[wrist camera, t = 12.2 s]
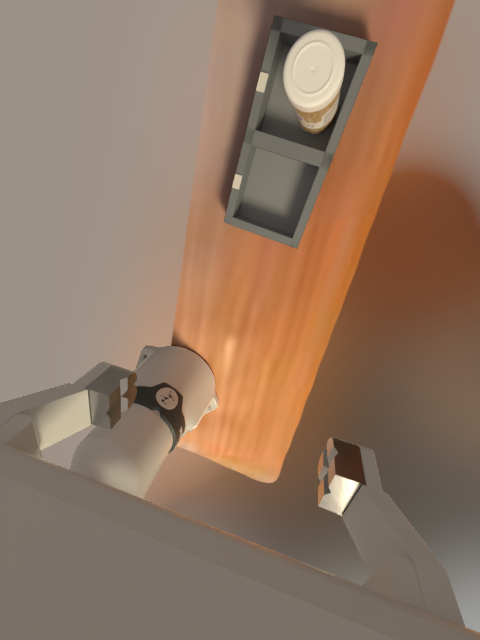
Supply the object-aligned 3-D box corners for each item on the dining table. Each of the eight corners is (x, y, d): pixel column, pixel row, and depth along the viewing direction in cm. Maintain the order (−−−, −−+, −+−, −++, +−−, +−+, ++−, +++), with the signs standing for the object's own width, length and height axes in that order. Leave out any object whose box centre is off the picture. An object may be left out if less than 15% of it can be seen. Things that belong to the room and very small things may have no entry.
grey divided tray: (298, 243, 39) (296, 248, 36) (231, 219, 40) (223, 222, 37) (372, 58, 29) (378, 42, 26) (279, 32, 30) (274, 14, 27)
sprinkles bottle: (289, 118, 33) (269, 81, 21) (316, 77, 31) (310, 9, 19) (319, 144, 33) (314, 120, 22) (347, 104, 31) (360, 54, 19)
